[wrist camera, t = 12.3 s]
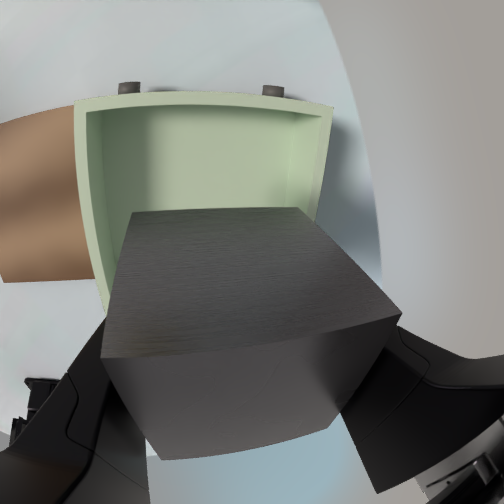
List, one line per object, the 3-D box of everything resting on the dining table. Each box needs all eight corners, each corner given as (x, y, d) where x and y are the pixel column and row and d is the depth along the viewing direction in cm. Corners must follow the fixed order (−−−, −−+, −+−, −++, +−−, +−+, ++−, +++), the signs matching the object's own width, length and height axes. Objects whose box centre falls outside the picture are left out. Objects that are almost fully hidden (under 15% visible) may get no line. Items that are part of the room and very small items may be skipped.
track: (285, 258, 22) (290, 264, 22) (8, 275, 16) (3, 282, 15) (308, 106, 16) (315, 106, 16) (-22, 132, 10) (-30, 135, 9)
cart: (274, 276, 21) (294, 310, 18) (116, 289, 18) (110, 328, 15) (300, 91, 15) (335, 92, 11) (97, 87, 11) (74, 83, 8)
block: (276, 322, 11) (327, 428, 7) (151, 335, 10) (161, 460, 6) (297, 207, 9) (402, 312, 4) (132, 212, 7) (100, 358, 3)
